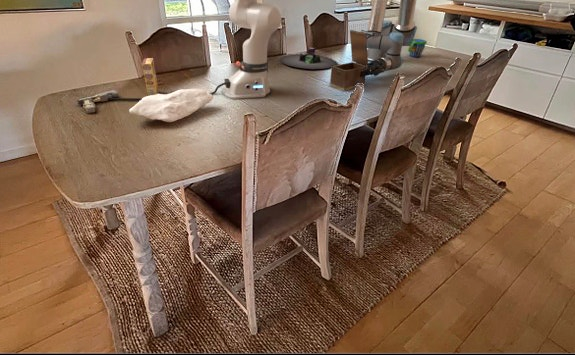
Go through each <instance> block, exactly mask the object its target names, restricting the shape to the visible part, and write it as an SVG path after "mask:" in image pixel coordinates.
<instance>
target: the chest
mask: <svg viewBox="0 0 575 355" xmlns="http://www.w3.org/2000/svg"><path fill="white" fill-rule="evenodd" d="M365 70H367V66H364V65H360V64H357V63H356V62H353V61H351V62H346V63H342V64H341V63H340V64H336V65H335V66H332V67H331V70H330V80H329V86H330V87H333V88H335V89H338V90H339V91H343V92H345V91H349V90H353V89H356V88H355V85H356V84H357V83H363V84H364V85H365V83H366V77H367V76H364V77H360V75H361V71H365Z"/></svg>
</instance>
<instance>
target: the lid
mask: <svg viewBox="0 0 575 355" xmlns="http://www.w3.org/2000/svg"><path fill="white" fill-rule="evenodd" d="M367 35H368V37H367ZM374 36H375V33H373V32H368V30H364V29H360V31H359V30H358V31H357V30H355V29H350V30H349V37H350V38H349V39H350V48H351V50H350V51H351V52H350V53H351V62H354V63H359V64H362V65H366V66H367V65H368V63H369V61H368V56H367V50H368V48H367V39H368V38H370V37H374Z"/></svg>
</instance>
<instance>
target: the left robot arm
mask: <svg viewBox="0 0 575 355" xmlns="http://www.w3.org/2000/svg"><path fill="white" fill-rule="evenodd" d="M363 4H364V1H363V0H357V6H358V7H363ZM372 4H373V0H367V1H366V5H367V6H372ZM228 17H229V21H230V22H231V23H232V24H233V25H235V26H237V27H240V28H242V29H247V30H251V31H250V32H251V34H250V37H249V38H247V39H246V40H245V41H244V42H243V43H242V59H243V60H242V61H236V62H235V65H236V66H237V67H239V69H237V71H236V72H235V73H234V74H232V75H231V76H230V77H229V78H224V81H223V82H222V83H220V84H218V85H217V86H216V87H215V89H214V91H212V92H209V93H210V94H212V95H214V94H216V93H217V92H218V89H219V88H221V87H222V86H225V87H224V88H223V91H222V92H223V94H224V95H225V96H226V97H228V98H230V99H233V100H236V99H237V100H238V99H239V100H240V99H253V98H254V99H255V98H264V97H266V95H268V94H269V93H270V92H271V88H270V84H269V78H268V76H269V75H268V72H269V61H268V47H269V41H270V39H271V37H272V35H273V34H274V33H275V32H276V31H277V30H278V29H279V27H280V26H281V24H282V14H281V12H280V9H279V8H278V7H275V6H273V5H270V4H268V3H262V2H258V0H234V1H233V2H232V3H231V5H230V7H229V9H228ZM142 98H143V97H112V98H108V100H107V101H140V100H141V99H142Z"/></svg>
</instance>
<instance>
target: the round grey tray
mask: <svg viewBox="0 0 575 355" xmlns="http://www.w3.org/2000/svg"><path fill="white" fill-rule="evenodd" d="M316 49H317V48H316V47H311V46H308V48H307V49H306V53H304V52H300V54H299V53H295V54H289V55H285V56H282V57H280V59H279V61H280V62H281V63H282V64H284V65H286V66H288V67H294V68H299V69H305V70H307V69H308V70H321V69H322V70H323V69H329V68H332V66H336V65H338V64H337V63H338V62H337V60H334V59H332V58H330V57H328V56H323V55H320V54H316Z"/></svg>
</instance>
